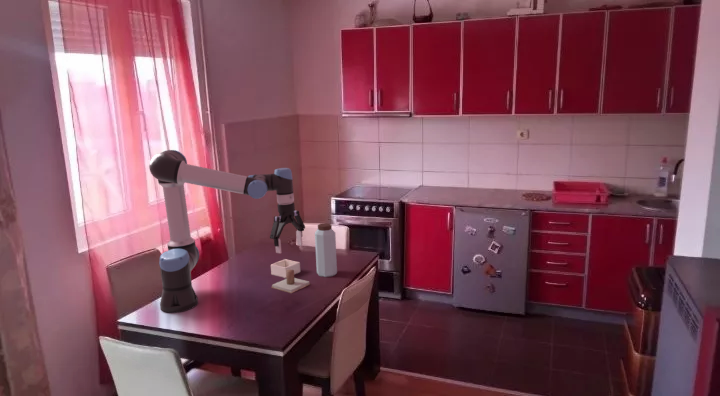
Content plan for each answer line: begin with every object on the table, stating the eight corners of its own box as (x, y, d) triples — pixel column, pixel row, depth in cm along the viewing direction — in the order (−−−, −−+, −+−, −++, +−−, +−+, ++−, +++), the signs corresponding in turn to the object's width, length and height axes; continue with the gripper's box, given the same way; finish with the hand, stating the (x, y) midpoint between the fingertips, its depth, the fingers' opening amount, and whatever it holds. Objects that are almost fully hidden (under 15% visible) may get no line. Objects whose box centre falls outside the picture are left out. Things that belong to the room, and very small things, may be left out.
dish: (286, 279, 243) (285, 268, 242) (271, 275, 249) (270, 264, 247) (300, 272, 251) (299, 262, 249) (285, 269, 256) (285, 259, 255)
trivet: (291, 294, 224) (291, 293, 224) (270, 288, 231) (270, 287, 231) (311, 285, 234) (310, 283, 234) (290, 279, 242) (290, 278, 242)
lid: (291, 292, 224) (290, 277, 223) (272, 287, 231) (271, 272, 230) (309, 284, 234) (308, 269, 232) (290, 279, 241) (289, 264, 239)
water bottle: (338, 271, 251) (336, 222, 246) (335, 278, 241) (333, 227, 236) (318, 271, 252) (316, 222, 247) (315, 278, 242) (312, 227, 238)
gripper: (271, 209, 213) (275, 257, 217) (310, 198, 232) (313, 242, 237) (259, 207, 217) (263, 255, 222) (298, 196, 237) (302, 240, 241)
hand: (289, 248), depth 229 cm, fingers open, 13 cm apart
